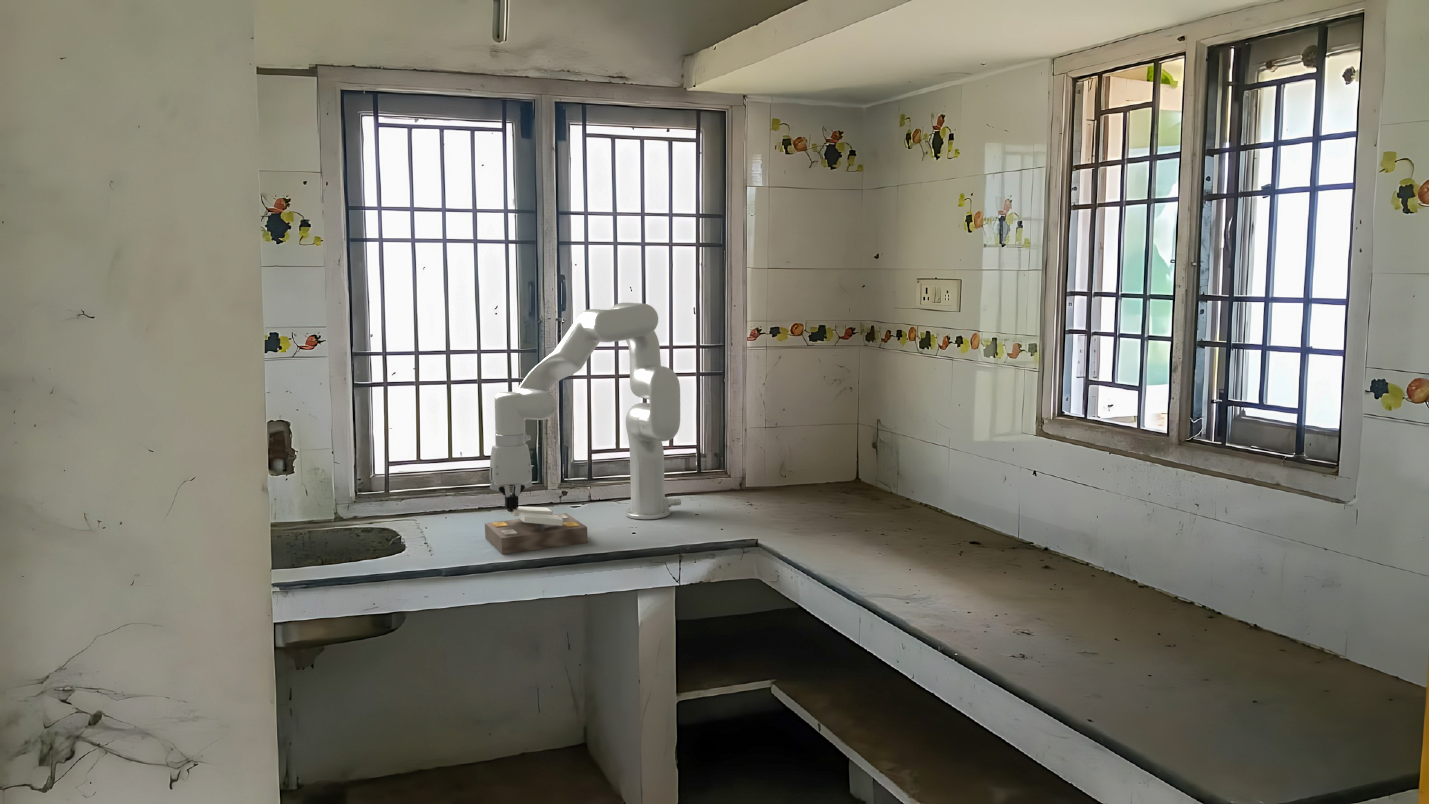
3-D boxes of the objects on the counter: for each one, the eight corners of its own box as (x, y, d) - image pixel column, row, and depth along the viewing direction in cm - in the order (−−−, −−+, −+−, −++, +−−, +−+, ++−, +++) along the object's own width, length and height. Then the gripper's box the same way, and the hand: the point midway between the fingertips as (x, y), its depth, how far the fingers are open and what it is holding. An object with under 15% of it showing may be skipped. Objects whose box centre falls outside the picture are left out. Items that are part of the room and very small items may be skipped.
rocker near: (556, 521, 266) (557, 515, 266) (562, 525, 262) (563, 519, 262) (518, 518, 262) (519, 512, 262) (524, 522, 257) (525, 516, 257)
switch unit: (566, 527, 279) (566, 507, 278) (587, 542, 264) (586, 521, 263) (485, 538, 269) (484, 517, 269) (502, 554, 254) (501, 532, 253)
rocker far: (546, 513, 274) (546, 507, 274) (551, 517, 270) (552, 511, 270) (509, 511, 270) (509, 506, 270) (514, 515, 265) (514, 510, 265)
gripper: (535, 436, 272) (536, 505, 274) (477, 440, 265) (479, 510, 267) (543, 440, 265) (544, 511, 267) (484, 444, 259) (486, 516, 261)
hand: (511, 510), depth 267 cm, fingers closed
